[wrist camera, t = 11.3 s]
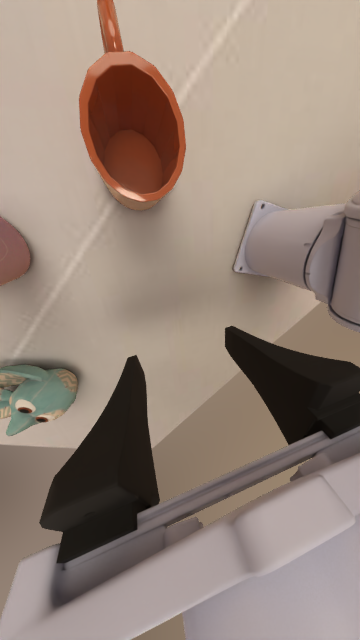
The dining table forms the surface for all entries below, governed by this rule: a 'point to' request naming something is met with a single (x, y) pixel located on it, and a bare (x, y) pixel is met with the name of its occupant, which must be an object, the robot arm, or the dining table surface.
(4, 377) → the stuffed animal
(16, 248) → the beverage can
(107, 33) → the mug
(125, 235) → the dining table surface
